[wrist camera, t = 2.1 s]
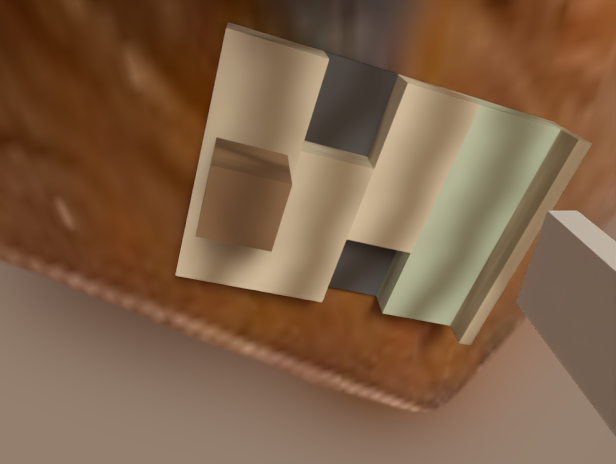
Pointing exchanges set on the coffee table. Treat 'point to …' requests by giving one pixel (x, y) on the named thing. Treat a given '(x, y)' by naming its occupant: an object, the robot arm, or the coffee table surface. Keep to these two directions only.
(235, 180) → the walnut cube
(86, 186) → the coffee table surface
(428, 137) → the board
